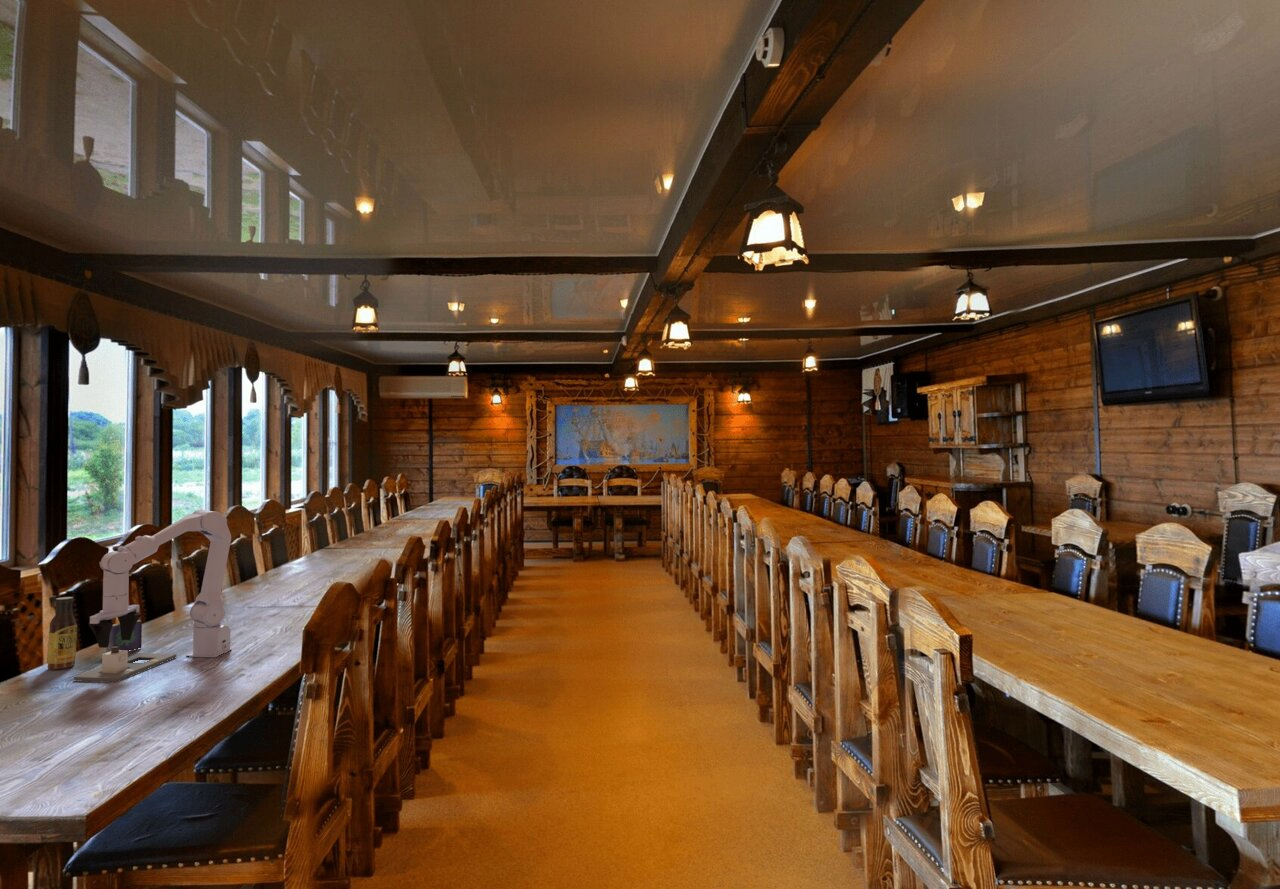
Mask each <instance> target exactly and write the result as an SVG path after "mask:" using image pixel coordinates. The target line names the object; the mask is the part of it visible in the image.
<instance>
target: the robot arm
mask: <svg viewBox="0 0 1280 889" xmlns="http://www.w3.org/2000/svg"><path fill="white" fill-rule="evenodd" d="M187 532H199V533H201V534H203V536H205V538H206V539H208V540H209V542H210V543H209V548H208V553H207V559H206V562H205V569H204V573H203V579H202V584H201V589H200V593H198V594H197V596H196V597H195V601H194V603H193V604H192V606H191V608H190V610H189V616H190V618H191V620H192V621H193V626H192V628H193V630H192V632H193V633H192V638H193V639H192V652H190V653H188V654H186V655H185V657H186V656H189V657H188V658H217V657H220V656H222V655H224V654H226V653H228V651H229V652H230V650H231V651H232V650H233V649H232V648H231V628H230V627H229V626H228V625H224V624H222V621H223V620H224V619H225V615H226V611H225V608H224V604H225V600H224V598H223V595H222V588H223V584H224V580H225V579H224V578H225V573H226V568H227V564H228V557H229V552H230V547H231V541H232V534H231V531H230V529H229V526H228V519H227V518H226V516H224V515H223V514H222V513H221V512H219V511H216V510H214V511H213V510H212V511H211V510H205V509H197V510H195V511H193V512H192V513H188V514H186V515H184V516H183V517H182V518H180V519H179V520H177V521H175V522H174V523H171V524H169V525H168V526H166V527H165V528H163V529H162V530H160V531H159V532H157V533H155V534H153V535H147V534H145V535H143V536H141V535H137V536H135V538H134V539H135V540H133V541H131V542H130V543H127V544H126V545H120V546H119V547H117V550H116V551H115V550H113V551H109V552H107V553H106V554H104V555H103V557H102V558H101V560H100V561H99V567H100V568H101V570H103V578H102V610H99V612H98V613H95V614H94V615H91V616H89V622H88V627H89V629H90V630H91V632H92V633H93V634H94V636H95V639H96V641H97V644H98V645H97V646H98V648H99V649H102V648H103V649H106V648H107V647H108V645H109V636H110V631H111V628H112V626H113V624H115V623H114V622H109V621H110V620H112V619H116V618H117V619H118V623H120V627H121V639H122V640H130V639H131V636H132V632H133V629H134V627H135V625H136V623H137V621H138V620H140V618H141V617H142V616H141V615H142V614H141V612H140V604H131V605H129V594H130V593H129V592H130V591H129V590H130V589H129V585H130V584H129V582H130V581H129V580H130V578H129V572H130V570H131V569H132V568H133V565H136V564H137V563H138V562H141V561H142V560H144V559H146V558H147V557H149V556H151V555H154V554H155V553H156V552H158V549H159V547H160V546H161V545H163V544H165V543H167V542H169V541H171V540H173V539H175V538H177V537H179V536H181V535H182V534H184V533H187ZM108 620H109V621H108ZM223 653H224V654H223ZM221 654H222V655H221ZM219 655H220V656H219Z"/></svg>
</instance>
